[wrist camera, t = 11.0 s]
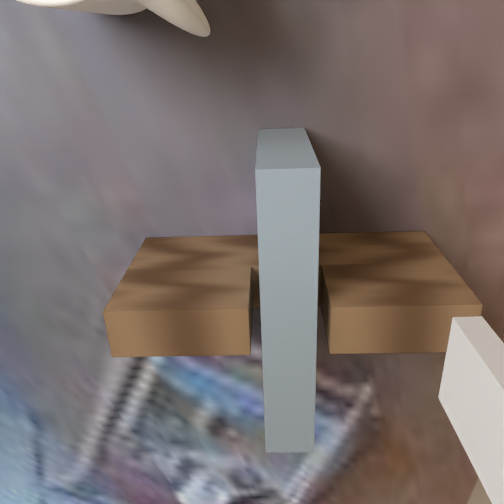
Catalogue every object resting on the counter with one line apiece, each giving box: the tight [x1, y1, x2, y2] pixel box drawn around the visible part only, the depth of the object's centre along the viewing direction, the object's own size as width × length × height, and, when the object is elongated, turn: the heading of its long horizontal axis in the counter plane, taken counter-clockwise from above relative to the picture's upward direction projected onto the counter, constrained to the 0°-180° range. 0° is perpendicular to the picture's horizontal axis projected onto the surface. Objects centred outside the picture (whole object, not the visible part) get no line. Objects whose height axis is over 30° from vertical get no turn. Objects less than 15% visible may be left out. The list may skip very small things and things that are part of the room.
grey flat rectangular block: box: [255, 128, 321, 453], centre depth 30 cm, size 3×18×10 cm, turn 2°
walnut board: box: [103, 231, 483, 357], centre depth 30 cm, size 20×3×10 cm, turn 92°
